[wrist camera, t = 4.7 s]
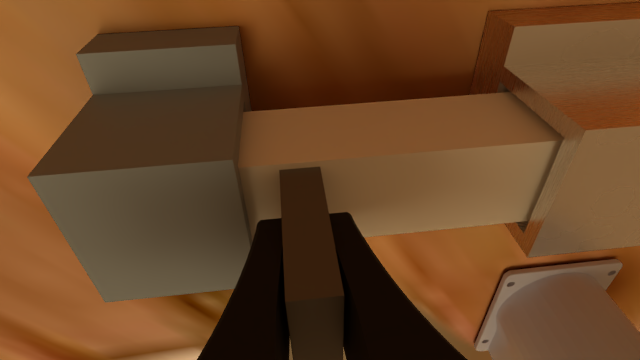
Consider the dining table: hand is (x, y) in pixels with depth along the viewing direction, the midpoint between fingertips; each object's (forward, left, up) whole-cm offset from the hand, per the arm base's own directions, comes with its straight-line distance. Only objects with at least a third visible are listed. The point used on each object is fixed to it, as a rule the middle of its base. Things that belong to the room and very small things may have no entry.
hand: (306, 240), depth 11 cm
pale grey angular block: (0, -2, -5) cm, 5 cm away
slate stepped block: (0, +4, -7) cm, 8 cm away
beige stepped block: (0, -12, -7) cm, 14 cm away
